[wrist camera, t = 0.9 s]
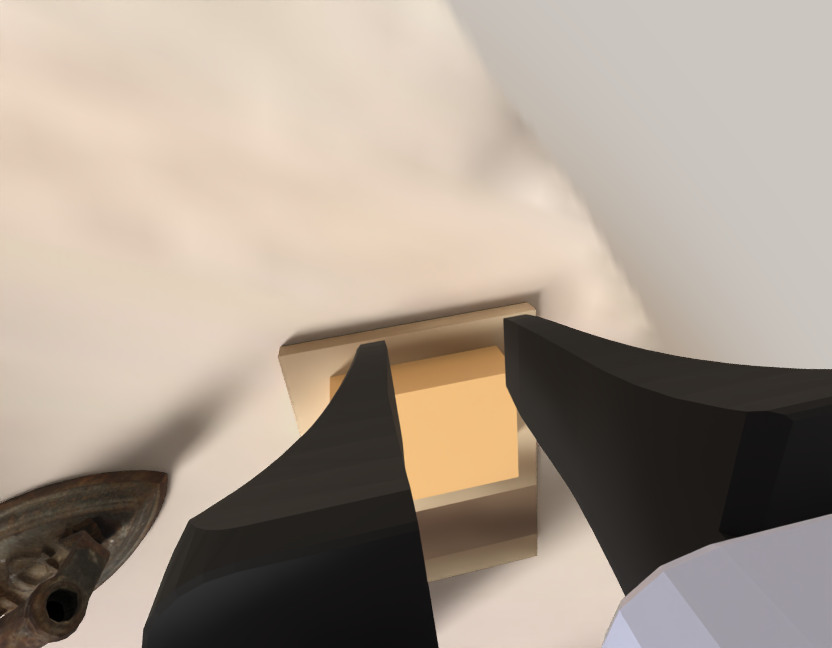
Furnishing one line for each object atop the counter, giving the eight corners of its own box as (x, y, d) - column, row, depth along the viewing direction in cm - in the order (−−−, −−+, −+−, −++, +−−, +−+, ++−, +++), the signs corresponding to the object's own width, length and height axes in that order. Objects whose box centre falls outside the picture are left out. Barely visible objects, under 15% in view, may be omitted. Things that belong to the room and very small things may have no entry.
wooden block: (500, 443, 24) (518, 476, 21) (353, 475, 23) (354, 513, 21) (496, 345, 21) (515, 371, 19) (329, 377, 20) (329, 407, 18)
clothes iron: (-72, 541, 22) (-321, 764, 13) (127, 399, 24) (35, 504, 14) (43, 619, 24) (-97, 856, 15) (217, 485, 26) (188, 623, 17)
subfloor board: (530, 542, 29) (537, 555, 28) (347, 586, 28) (348, 602, 27) (527, 302, 22) (535, 309, 21) (280, 346, 20) (277, 357, 20)
